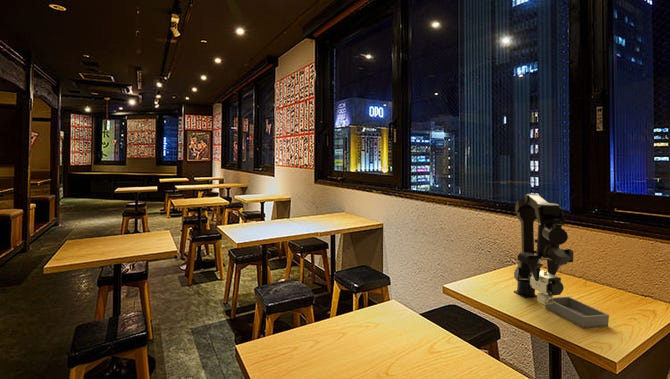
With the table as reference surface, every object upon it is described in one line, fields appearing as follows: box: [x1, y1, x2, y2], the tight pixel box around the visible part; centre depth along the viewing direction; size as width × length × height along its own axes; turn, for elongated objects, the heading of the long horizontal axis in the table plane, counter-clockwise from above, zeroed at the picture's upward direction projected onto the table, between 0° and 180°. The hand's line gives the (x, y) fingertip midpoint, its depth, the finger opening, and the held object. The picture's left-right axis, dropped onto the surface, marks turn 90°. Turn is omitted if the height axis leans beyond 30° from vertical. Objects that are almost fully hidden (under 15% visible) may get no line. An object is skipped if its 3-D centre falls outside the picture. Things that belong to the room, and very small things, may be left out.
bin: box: [544, 296, 610, 329], centre depth 124 cm, size 16×10×4 cm, turn 11°
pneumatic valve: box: [528, 269, 564, 306], centre depth 125 cm, size 6×12×12 cm, turn 10°
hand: (543, 280), depth 124 cm, fingers closed on pneumatic valve, 5 cm apart
